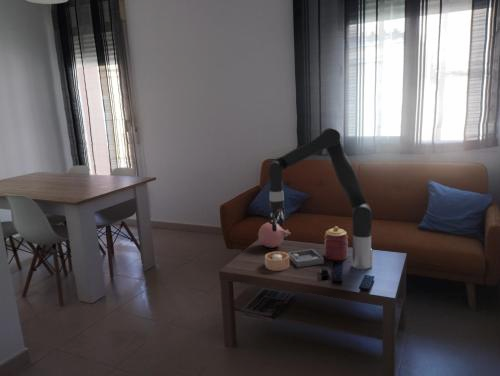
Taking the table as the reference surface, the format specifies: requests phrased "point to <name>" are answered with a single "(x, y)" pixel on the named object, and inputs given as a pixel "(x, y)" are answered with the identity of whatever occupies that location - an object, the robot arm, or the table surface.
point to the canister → (336, 244)
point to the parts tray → (306, 258)
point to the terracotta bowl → (277, 261)
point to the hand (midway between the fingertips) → (278, 229)
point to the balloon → (271, 235)
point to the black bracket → (324, 275)
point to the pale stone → (277, 257)
